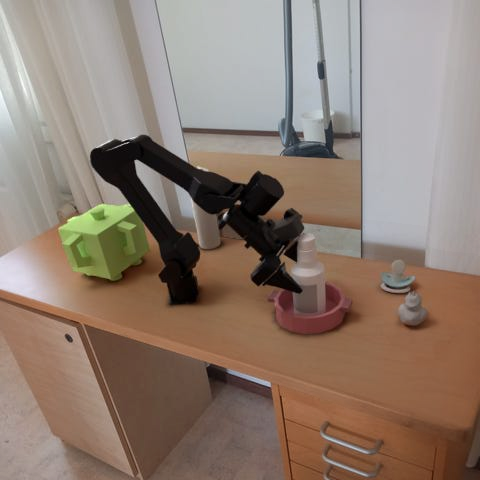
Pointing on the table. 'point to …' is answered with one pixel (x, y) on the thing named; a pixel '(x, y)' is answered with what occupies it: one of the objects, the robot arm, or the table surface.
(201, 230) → the paper towel roll
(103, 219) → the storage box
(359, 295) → the table surface
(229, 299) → the table surface
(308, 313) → the spray bottle
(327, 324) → the pot
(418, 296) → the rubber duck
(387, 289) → the pacifier
